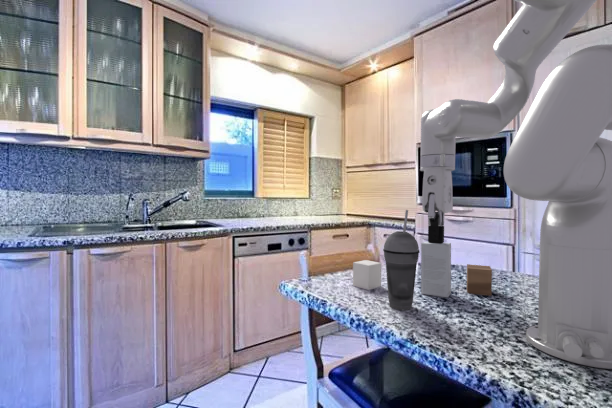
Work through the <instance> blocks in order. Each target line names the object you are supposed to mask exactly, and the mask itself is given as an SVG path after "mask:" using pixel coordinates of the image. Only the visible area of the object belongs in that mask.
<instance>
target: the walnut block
mask: <svg viewBox="0 0 612 408" xmlns="http://www.w3.org/2000/svg"><path fill="white" fill-rule="evenodd" d="M492 281H493V269H492V268H491V265H482V264H481V265H480V264H466V293H467V294H472V295H480V296H490V297H492V293H493V292H492V290H493V289H492V284H493V282H492Z"/></svg>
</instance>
